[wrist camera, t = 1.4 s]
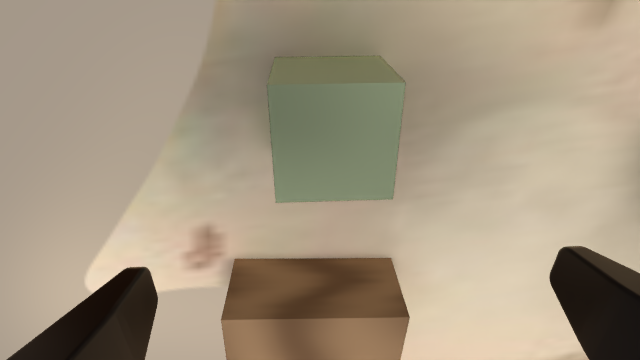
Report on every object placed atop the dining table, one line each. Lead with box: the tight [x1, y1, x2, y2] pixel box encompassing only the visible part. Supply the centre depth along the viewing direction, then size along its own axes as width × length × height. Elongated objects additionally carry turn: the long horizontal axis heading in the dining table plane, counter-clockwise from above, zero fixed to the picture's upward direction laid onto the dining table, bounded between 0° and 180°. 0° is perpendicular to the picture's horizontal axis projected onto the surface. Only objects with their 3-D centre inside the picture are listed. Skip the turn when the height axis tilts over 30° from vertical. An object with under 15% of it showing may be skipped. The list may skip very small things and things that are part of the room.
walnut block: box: [221, 258, 410, 360], centre depth 24 cm, size 10×10×5 cm
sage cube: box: [267, 56, 406, 203], centre depth 17 cm, size 5×5×5 cm
